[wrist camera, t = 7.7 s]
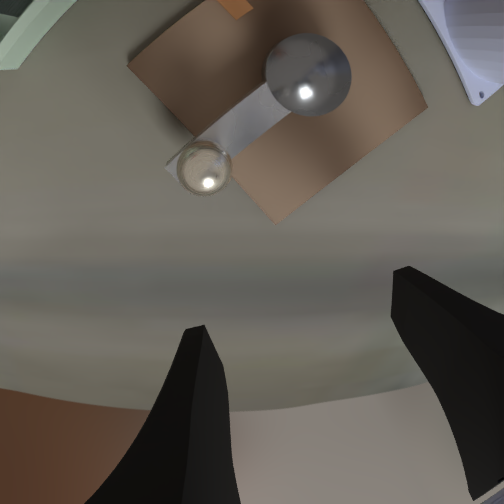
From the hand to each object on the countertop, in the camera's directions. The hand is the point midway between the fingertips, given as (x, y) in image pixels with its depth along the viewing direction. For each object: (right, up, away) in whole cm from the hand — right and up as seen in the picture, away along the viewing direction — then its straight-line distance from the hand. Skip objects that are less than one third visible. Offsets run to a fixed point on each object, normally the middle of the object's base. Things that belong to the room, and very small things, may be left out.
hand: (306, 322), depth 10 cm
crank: (-2, +8, +3) cm, 9 cm away
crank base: (0, +11, +4) cm, 11 cm away
